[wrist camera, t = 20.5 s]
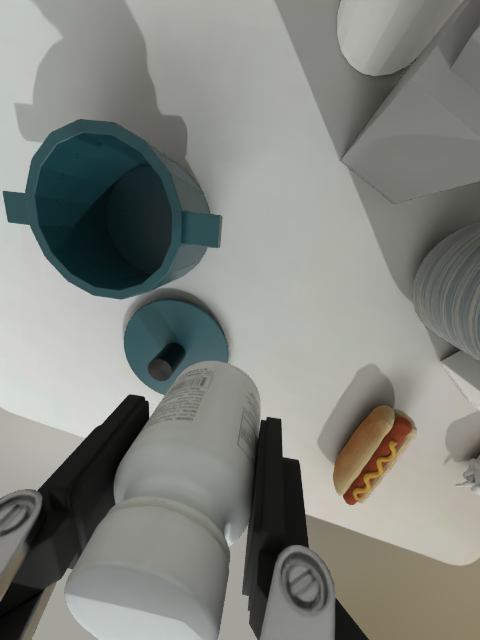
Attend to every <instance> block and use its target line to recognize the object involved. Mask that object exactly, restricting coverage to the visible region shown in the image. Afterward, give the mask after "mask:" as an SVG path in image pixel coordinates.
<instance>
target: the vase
mask: <svg viewBox="0 0 480 640" xmlns="http://www.w3.org/2000/svg"><path fill="white" fill-rule="evenodd" d="M412 297H413V304H414V307H415V311H416V313H417V315H418V317H419V318H420V320H421V321H422V322H423V324H424V325H425V326H426V327H427V328H428V329H429V330H431V331H432V332H433V333H434V334H436V335H438V336H439V337H441V338H442V339H444V340H446V341H447V342H449V343H451V344H452V345H454V346H455V347H457V348H459V349H460V350H462V351H464V352H465V353H467V354H468V355H470V356H472V357H473V358H475V359H477V360H478V361H480V222H476V223H473V224H470V225H468V226H466V227H463V228H461V229H459V230H457V231H455V232H454V233H452V234H450V235H448V236H447V237H446V238H444V239H443V240H442V241H440V242H439V243H438V244H437V245H436V246H435V247H434V248H433V249H432V250H431V251H430V252H429V253H428V254H427V256H426V257H425V258H424V260H423V261H422V263H421V265H420V266H419V268H418V270H417V272H416V276H415V279H414V282H413V289H412Z"/></svg>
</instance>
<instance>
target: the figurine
mask: <svg viewBox="0 0 480 640" xmlns="http://www.w3.org/2000/svg"><path fill="white" fill-rule="evenodd" d="M463 477H464V478H465V479H466V480H467V479H468V480H467V481H466V482H464V483H462V484H456V486H461V487H468V486H472V488H471V490H472V492H474V493H475V494H477V495H479V496H480V455H479V456H478V458H477V459H471V460H470V461H469V468H468V470H467V471H466V472H464V473H463ZM473 485H474V486H473Z"/></svg>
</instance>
